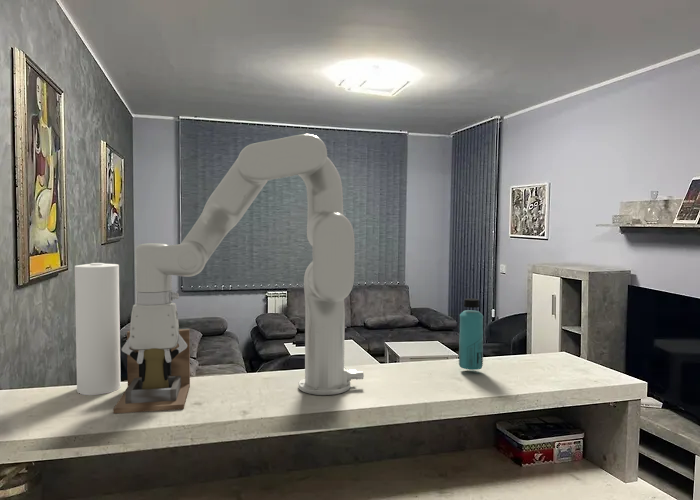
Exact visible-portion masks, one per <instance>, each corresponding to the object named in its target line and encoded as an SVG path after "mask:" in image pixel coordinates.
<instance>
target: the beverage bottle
mask: <svg viewBox="0 0 700 500" xmlns="http://www.w3.org/2000/svg"><path fill="white" fill-rule="evenodd" d="M463 301H464V302H463V307H465V308H472V309H473V308H474V309H476V308H479V307H480V300H479V299H478V298H464V300H463ZM472 309H471V310H469V309H467V310H466V309H465V310H463V311H462V312H460V314H459V337H458V338H459V340H458V347H459V348H458V365H459V367H460V368H461V369H463V370H464V369H465V370H470V371H477V370H481V369H482V368H483V365H484V348H483V347H484V315H483V314H482V313H481V312H480V311H479V310H472Z"/></svg>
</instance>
